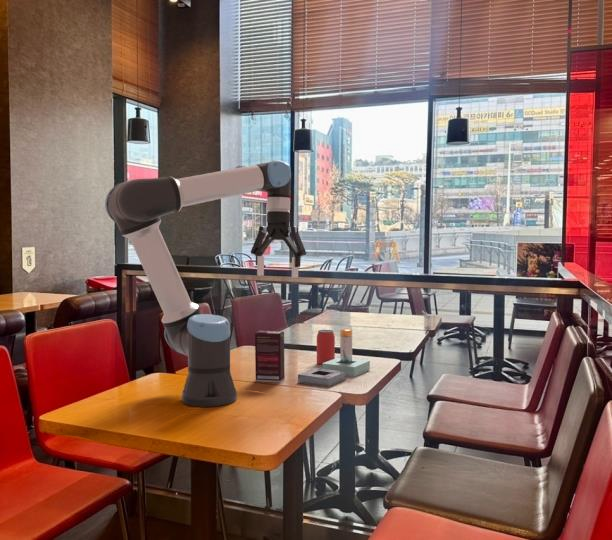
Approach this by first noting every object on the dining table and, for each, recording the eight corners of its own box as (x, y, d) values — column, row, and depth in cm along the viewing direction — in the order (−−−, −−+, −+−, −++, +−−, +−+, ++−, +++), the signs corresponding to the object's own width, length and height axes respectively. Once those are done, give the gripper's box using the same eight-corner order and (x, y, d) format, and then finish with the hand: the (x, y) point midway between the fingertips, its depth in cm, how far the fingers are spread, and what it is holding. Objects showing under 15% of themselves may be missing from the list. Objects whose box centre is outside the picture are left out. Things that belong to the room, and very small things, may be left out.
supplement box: (285, 380, 187) (284, 331, 186) (280, 383, 182) (280, 333, 182) (259, 378, 189) (259, 330, 188) (254, 382, 184) (254, 332, 184)
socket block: (354, 377, 190) (354, 367, 190) (322, 373, 196) (322, 363, 196) (369, 370, 201) (369, 360, 200) (338, 367, 207) (338, 357, 207)
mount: (328, 388, 176) (328, 378, 176) (297, 383, 182) (297, 374, 182) (345, 381, 186) (345, 371, 186) (315, 376, 192) (315, 367, 191)
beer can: (337, 362, 214) (338, 330, 213) (328, 366, 208) (329, 332, 208) (322, 361, 217) (322, 329, 217) (313, 364, 212) (313, 331, 211)
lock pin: (348, 372, 196) (348, 331, 195) (338, 371, 198) (338, 330, 197) (354, 370, 199) (354, 329, 199) (343, 369, 201) (343, 329, 201)
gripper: (317, 211, 186) (316, 277, 186) (254, 212, 199) (253, 274, 200) (305, 209, 179) (303, 278, 180) (241, 211, 192) (239, 275, 193)
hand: (277, 276), depth 190 cm, fingers open, 13 cm apart
